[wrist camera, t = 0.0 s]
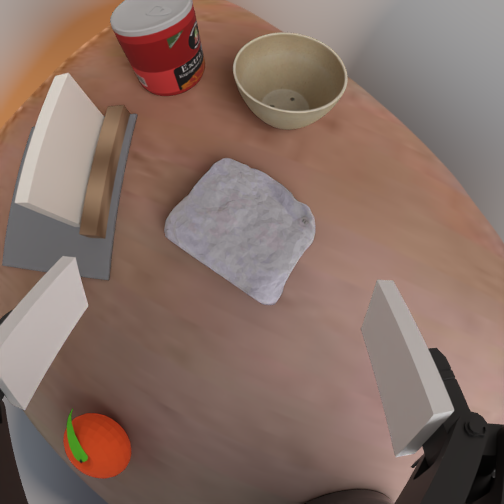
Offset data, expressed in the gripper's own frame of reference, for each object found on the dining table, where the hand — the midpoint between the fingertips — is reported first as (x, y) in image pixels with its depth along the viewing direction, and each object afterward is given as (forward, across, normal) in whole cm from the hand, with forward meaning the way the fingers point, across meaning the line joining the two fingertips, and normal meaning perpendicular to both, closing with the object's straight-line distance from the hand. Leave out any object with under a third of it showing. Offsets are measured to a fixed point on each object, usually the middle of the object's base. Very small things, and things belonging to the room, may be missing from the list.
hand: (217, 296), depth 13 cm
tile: (+19, +17, 0) cm, 25 cm away
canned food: (+27, +10, -10) cm, 30 cm away
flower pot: (+24, -3, -6) cm, 25 cm away
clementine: (+3, +13, +22) cm, 26 cm away
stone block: (+16, 0, +4) cm, 17 cm away
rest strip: (+19, +14, 0) cm, 24 cm away
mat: (+18, +21, +2) cm, 27 cm away
